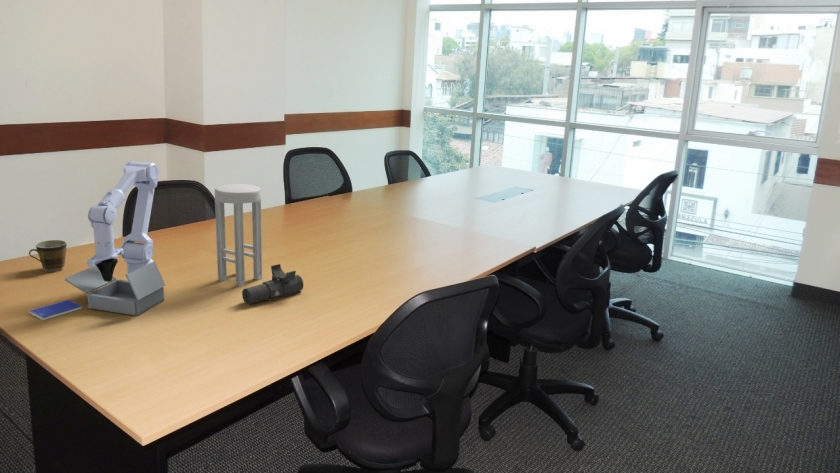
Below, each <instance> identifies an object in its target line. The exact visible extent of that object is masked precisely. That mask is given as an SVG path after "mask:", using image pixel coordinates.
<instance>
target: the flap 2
mask: <svg viewBox="0 0 840 473" xmlns="http://www.w3.org/2000/svg"><path fill="white" fill-rule="evenodd" d="M153 261H154V260H153ZM125 277H126V280H127V281H128V282H129V284H130V286H131V288H132V290H133V292H134V295H135V297H136V299H137V300H139V299H141V298H143V297H145V296H147V295H149V294H150V293H152V292H154V291H156V290H158V289H160V288H162V287H163V288H164V287H166V284H165V280H164V279H163V277H162V274H161V272H160V270H159V268H158V266H157V264H156V261H154V262H152V263H150V264H148V265H146V266H143V267H141V268H139V269H137V270H135V271H133V272H131V273H129V274H128V273H127V274H125Z"/></svg>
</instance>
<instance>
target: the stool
mask: <svg viewBox="0 0 840 473" xmlns="http://www.w3.org/2000/svg"><path fill="white" fill-rule="evenodd" d="M261 190H262V189H261V188H260V187H259V186H257V185H253V184H250V183H249V184H246V183H233V184H232V183H230V184H228V183H227V184H223V185H218V186H217V187H215V188H214V207H215V208H214V209H215V210H214V211H215V236H216V258H217V259H216V260H217V261H216V262H217V263H216V264H217V281H220V282H224V281H227V279H228V275H227V274H228V272H227V262H228V263H232V264H234V265H235V286H236V287H244V286H246V275H245V269H246V268H245V257H250V258H252V259H253V260H252V261H253V262H252V264H253V265H252V268H253V269H252V270H253V273H252V274H253V279H254V280H256V281H259V280H261V279H263V252H262V251H263V248H262V247H263V244H262V242H263V241H262V197H261V196H262V194H261ZM225 204H232V205H233V225H234V226H233V228H234V230H233V232H234V234H233V235H234V250H231V249H227V245H226V244H227V242H226V240H227V238H226V215H225V212H226V211H225ZM244 204H251V216H252V218H251V219H252V220H251V222H252V224H251V225H252V245H251V244H247V243H245V239H244V238H245V236H244V235H245V234H244V233H245V232H244ZM245 249H248V250H251V251H252V252H248V251H246V250H245ZM227 254H228V255H232V256H234V258H231V257H227Z"/></svg>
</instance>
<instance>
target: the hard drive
mask: <svg viewBox="0 0 840 473" xmlns="http://www.w3.org/2000/svg"><path fill="white" fill-rule="evenodd" d="M77 309H78V310H80V309H83V307H82V305H81V304H79V303H77V302H74V301H72V300H70V299H66V300H63V301H60V302H56V303H52V304H48V305H45V306H40V307H38V308H33V309H31V310H28V312H29V313H28V314H30V315H31V316H34V317H36V318H38V319H40V320H42V321H45V320H48V319H52V318H54V317H57V316H61V315H64V314H67V313H71V312H74V311H77Z"/></svg>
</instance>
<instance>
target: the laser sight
mask: <svg viewBox="0 0 840 473" xmlns="http://www.w3.org/2000/svg"><path fill="white" fill-rule="evenodd" d="M270 269H271V274H272V275H271V280H267V281H263V282H262V283H261V284H258V285H254V286H250V287H245V288H243V289H242V291H241V292H242V293H241V297H242V300H243V302H244V304H245V305H252V304H256V303H259V302H262V301H266V300H267V301H271V300H272V301H273V300H275V299H279V298H283V297H286V296H289V295H293V294H296V293H297V292H300V291H302V290H303V288H304V280H303V278H302V277H301V276H300V275H299V274H296V273H297V270H292V271H288V272H284V270H282V266H281V263H277V264H273V265H270Z"/></svg>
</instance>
